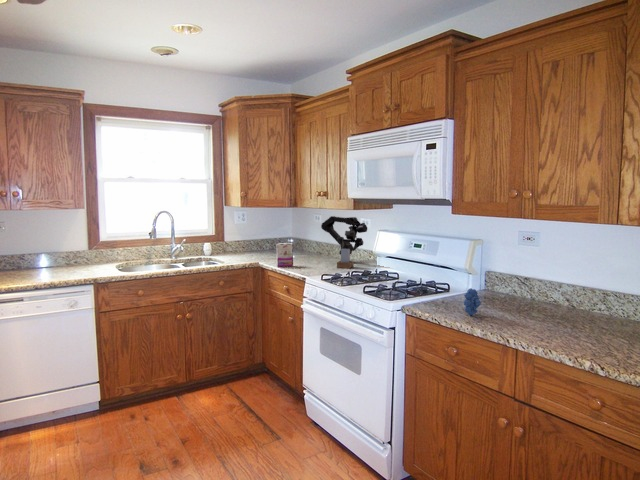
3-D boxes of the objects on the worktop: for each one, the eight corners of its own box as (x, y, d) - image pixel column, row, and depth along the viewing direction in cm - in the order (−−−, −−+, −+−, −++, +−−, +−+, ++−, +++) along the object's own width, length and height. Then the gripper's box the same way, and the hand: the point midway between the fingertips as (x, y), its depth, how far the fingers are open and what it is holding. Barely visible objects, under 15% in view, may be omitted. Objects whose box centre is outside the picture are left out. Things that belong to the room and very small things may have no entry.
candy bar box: (291, 265, 318) (291, 242, 317) (293, 266, 314) (293, 243, 312) (276, 266, 315) (276, 243, 314) (277, 267, 311) (277, 243, 309)
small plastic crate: (342, 265, 316) (343, 248, 314) (349, 265, 314) (349, 248, 313) (340, 266, 311) (341, 249, 310) (347, 266, 309) (347, 249, 308)
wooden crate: (340, 266, 318) (340, 260, 318) (353, 266, 315) (353, 261, 315) (336, 268, 310) (336, 262, 309) (349, 268, 306) (349, 263, 306)
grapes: (474, 320, 183) (475, 291, 182) (458, 316, 188) (460, 289, 187) (486, 315, 191) (488, 287, 190) (471, 311, 196) (473, 285, 195)
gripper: (338, 226, 325) (332, 243, 317) (361, 227, 317) (356, 244, 309) (342, 235, 334) (336, 252, 326) (365, 236, 325) (360, 253, 317)
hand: (347, 250), depth 319 cm, fingers open, 9 cm apart
